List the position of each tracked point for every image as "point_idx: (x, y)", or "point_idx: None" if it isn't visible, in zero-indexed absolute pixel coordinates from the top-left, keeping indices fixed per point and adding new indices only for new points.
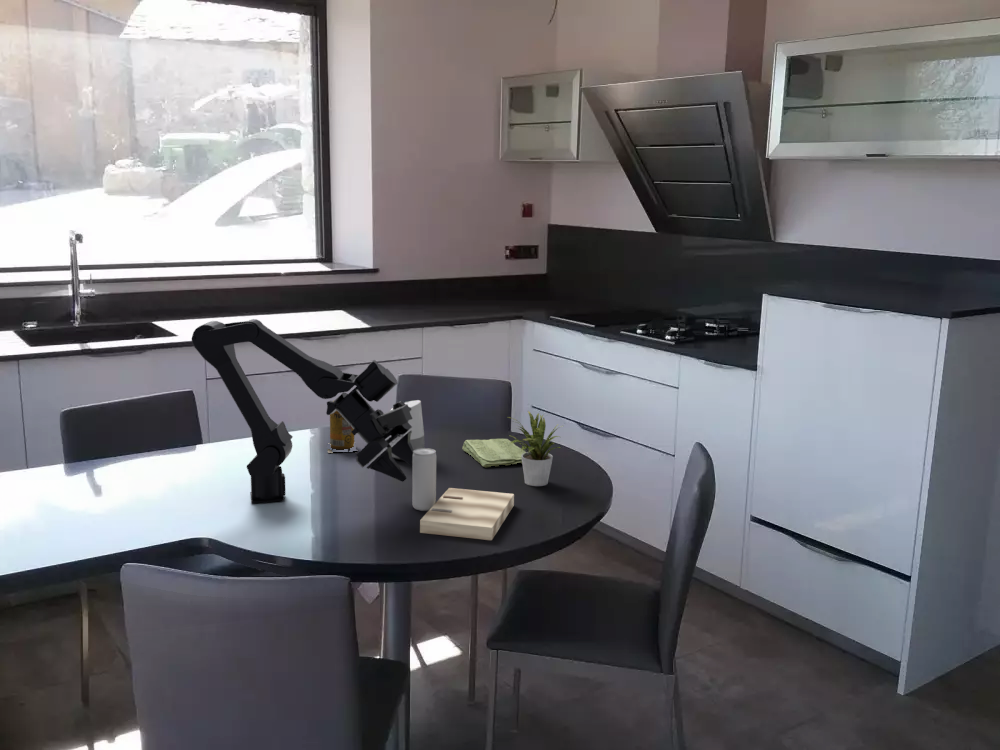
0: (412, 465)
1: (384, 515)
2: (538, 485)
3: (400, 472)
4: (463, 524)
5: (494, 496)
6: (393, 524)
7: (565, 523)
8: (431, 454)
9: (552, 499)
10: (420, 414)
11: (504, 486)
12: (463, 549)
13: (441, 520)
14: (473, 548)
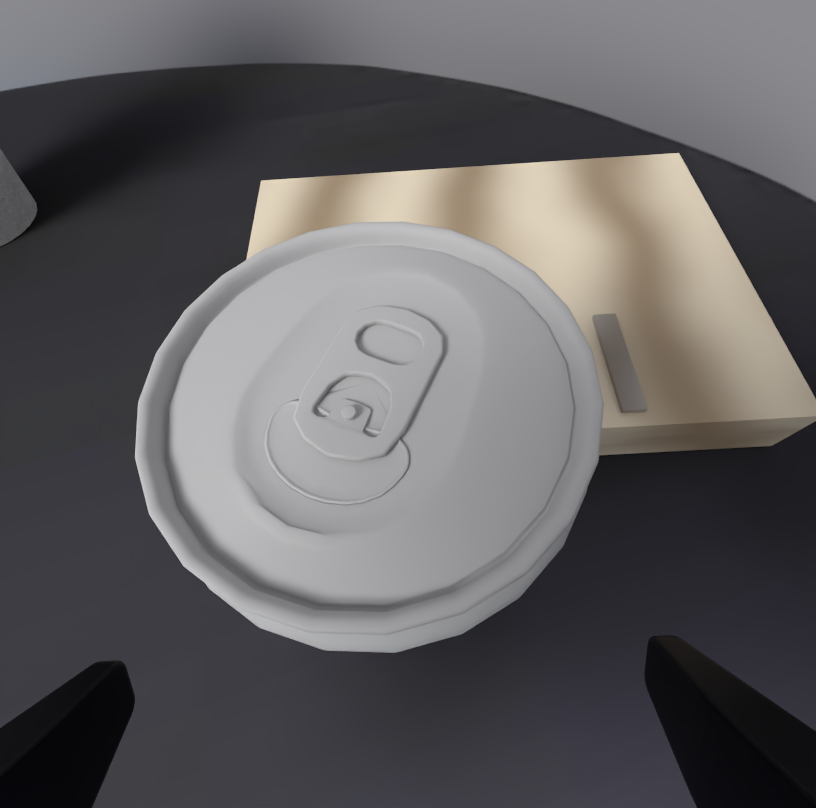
0: (96, 788)
1: (664, 791)
2: (35, 205)
3: (790, 721)
4: (720, 234)
5: (311, 227)
6: (767, 642)
7: (404, 94)
8: (472, 247)
9: (189, 151)
10: None
11: (30, 303)
12: (796, 247)
13: (743, 322)
14: (762, 225)
